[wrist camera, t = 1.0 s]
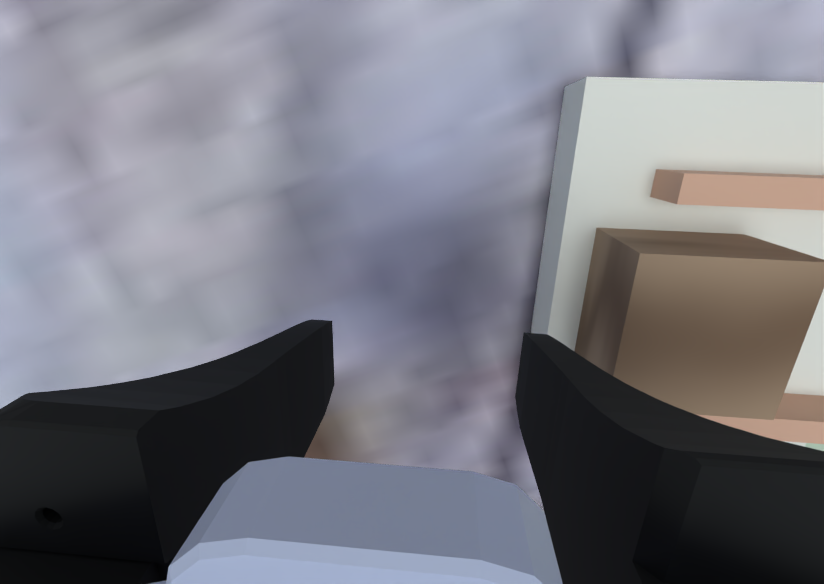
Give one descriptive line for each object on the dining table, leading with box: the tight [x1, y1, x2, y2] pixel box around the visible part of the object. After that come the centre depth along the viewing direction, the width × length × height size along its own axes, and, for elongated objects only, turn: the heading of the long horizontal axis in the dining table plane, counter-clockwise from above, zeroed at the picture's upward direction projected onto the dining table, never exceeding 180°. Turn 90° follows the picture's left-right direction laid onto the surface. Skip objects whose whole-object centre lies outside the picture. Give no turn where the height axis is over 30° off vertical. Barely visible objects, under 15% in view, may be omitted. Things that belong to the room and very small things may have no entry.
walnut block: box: [574, 228, 824, 420], centre depth 15 cm, size 6×6×4 cm
